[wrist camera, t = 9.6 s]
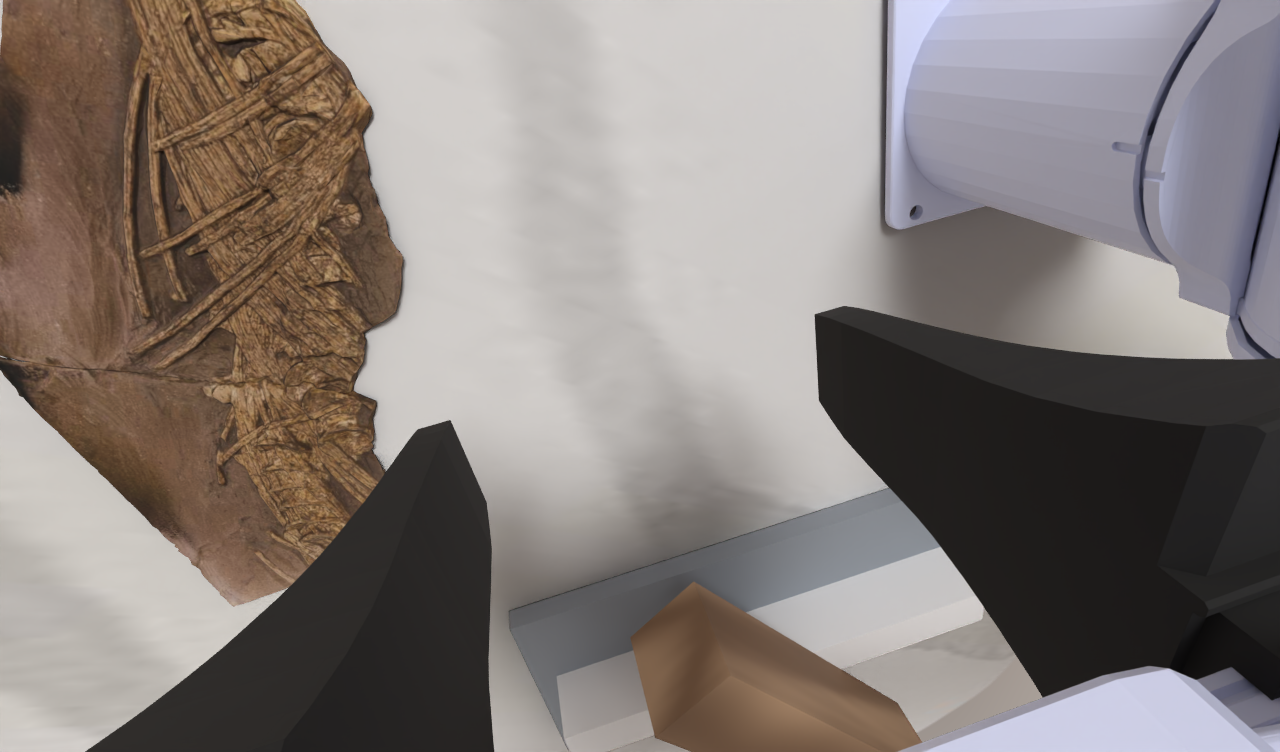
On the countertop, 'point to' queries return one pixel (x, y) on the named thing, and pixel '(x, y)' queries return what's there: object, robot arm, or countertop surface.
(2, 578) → the countertop surface
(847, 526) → the balance stand
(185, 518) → the fossil skeleton slab
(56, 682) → the countertop surface
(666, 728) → the walnut batten
